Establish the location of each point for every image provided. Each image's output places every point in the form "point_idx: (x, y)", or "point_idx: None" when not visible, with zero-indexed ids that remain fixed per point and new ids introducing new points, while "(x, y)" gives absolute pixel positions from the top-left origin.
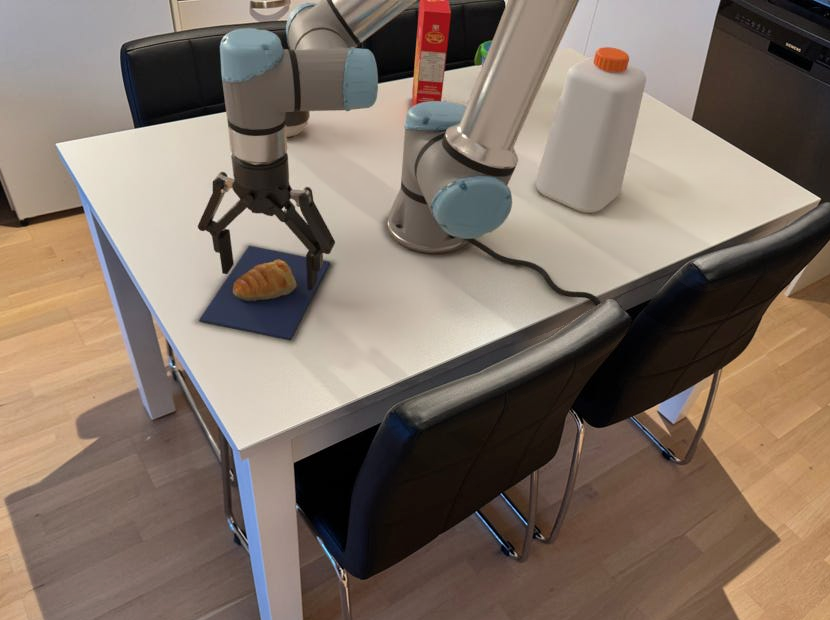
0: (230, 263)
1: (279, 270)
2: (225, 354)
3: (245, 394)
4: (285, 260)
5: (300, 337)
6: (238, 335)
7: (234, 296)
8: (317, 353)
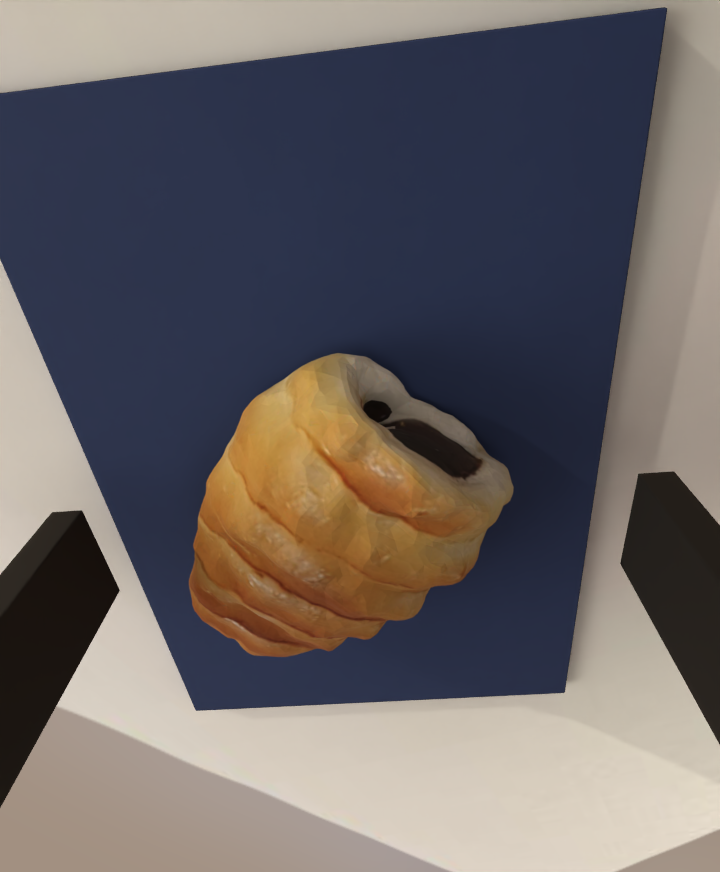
0: (80, 573)
1: (413, 551)
2: (369, 769)
3: (493, 837)
4: (303, 179)
5: (595, 662)
6: (365, 710)
7: None
8: (678, 701)
